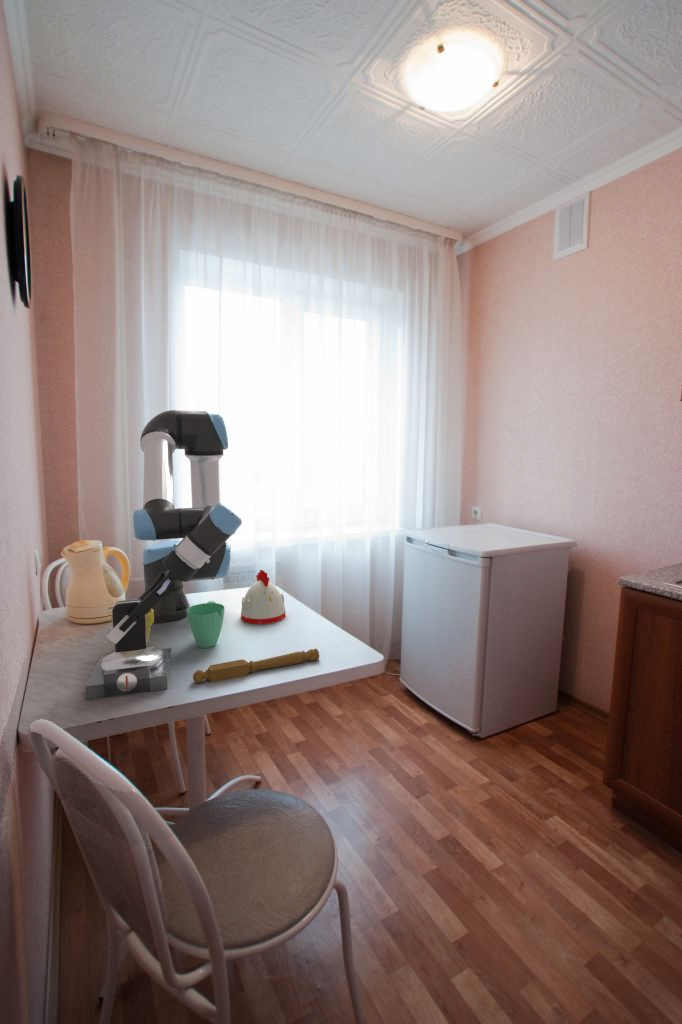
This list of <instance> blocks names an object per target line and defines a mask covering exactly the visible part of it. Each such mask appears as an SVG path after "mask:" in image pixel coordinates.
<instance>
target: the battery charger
mask: <svg viewBox="0 0 682 1024" xmlns="http://www.w3.org/2000/svg"><path fill="white" fill-rule="evenodd" d="M140 601H141V600H140V599H138V598H137V599H127V600H126V599H125V600H119V601H116V603H114V605H113V606H112V607H111V608H112V609H111V615H112V622H111V624H112V623H113V628H114V627H115V626H116V625H117V624H118V623H119V622H120V621H121V620H122V619H123V618H124V617H125V616H126V614H125V613H126V611H128V612H131V611H132V610H133V609H134V608H135V607H136V606H137V604H138V603H139V602H140ZM146 648H147V638H146V615H145V616H144V617H143V618H142V619H141V621H140V622H138V623H137V622H136V624H135V625H134V626H133V627H132V628H131V629H130V630H129V631H128V632H127V633H126V634H125V635H124V636H123V637H122V638H121V639H120V640H119V641H118V642H117V644H115V643H114V652H127V651H135V650H142V649H146Z"/></svg>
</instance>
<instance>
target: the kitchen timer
mask: <svg viewBox="0 0 682 1024" xmlns="http://www.w3.org/2000/svg"><path fill="white" fill-rule="evenodd" d="M255 578H256V581H255V582H254V583H253V584H252V585H251V586H250V587H249V588H248V590H247V592H246V594H245V595H244V596H242V597H241V598H242V599H241V611H240V619H241V621H242V622H245V623H246V622H247V624H252V625H266V624H267V623H268V624H273V623H272V622H274V623H277V622H280V621H282V620H284V619H285V618H286V607H285V597H284V594H283V593H281V592H280V591H279V589H278V588H277V587H276V585H274V584H273V583H272V582H271V581H270V577H268V572H266V571H265V570H264V569H260V570H259V572H257V575H256V576H255ZM284 617H285V618H284ZM283 618H284V619H283ZM281 619H282V620H281ZM279 620H280V621H279ZM276 621H277V622H276ZM268 624H267V625H268Z"/></svg>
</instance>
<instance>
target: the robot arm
mask: <svg viewBox="0 0 682 1024" xmlns="http://www.w3.org/2000/svg"><path fill="white" fill-rule="evenodd" d="M226 426H227V425H226V421H225V418H224V416H223V414H222V413H221V412H219V411H212V410H175V409H170V410H164V411H163V412H160V413H158V414H157V415H155V416H154V417H153V418H151V419H150V420H149V421H148V423H146V425H145V426H144V428H143V429H142V432H141V434H140V439H139V440H140V441H139V442H140V444H139V445H140V450H141V451H142V453H143V483H142V484H143V489H142V490H143V492H142V493H143V496H142V497H143V498H142V507H143V508H141V509H137V510H135V511H134V512H133V518H132V519H133V520H132V521H133V523H132V524H133V535H134V537H135V539H137V540H138V541H160V540H161V541H162V540H170V541H164V542H159V543H155V544H152V545H148V546H147V547H146V548H144V550H143V552H142V565H143V577H144V578H143V579H144V580H143V581H144V582H143V583H144V585H143V586H144V592H143V593H142V594H141V595H140V596H139V597H138V598H137V599H140V600H141V601H140V602H139V603H138V604H137V606H136V607H135V608H134V609H133V610H132V611H131V612H128V611H126V613H125V614H126V616H125V617H124V618H123V619H122V620H121V621H120V622H119V623H118V624H117V625H116V626H115V627H114V628H113V626H112V625H111V628H109V632H108V633H107V634H106V636H105V637H106V638H107V639H108V640H109V641H111V642H112V643H113V644H114V645H115V644H117V642H118V641H119V640H120V639H121V638H122V637H123V636H124V635H125V634H126V633H127V632H128V631H129V630H130V629H131V628H132V627H133V626H134V625H135V624H136V622H137V623H138V622H140V621H141V619H142V618H143V617H144V616H145V615H146V614H147V613H148V612H149V611H150V609H151V608H152V609H153V611H154V622H153V623H167V622H172V621H173V622H174V621H177V620H180V619H184V618H186V617H187V609H188V608H189V607H191V605H190V603H189V600H188V598H187V595H186V593H185V590H184V583H187V582H194V581H205V580H207V581H208V580H211V581H212V580H217V579H223V578H225V577H227V575H228V574H229V571H230V564H231V549H232V548H231V544H230V543H229V542H227V541H228V540H229V538H230V537H231V536H232V535H233V536H234V535H235V533H236V531H237V530H238V529H239V528H240V527H241V525H242V523H243V522H242V519H241V518H240V516H238V514H237V513H235V511H233V510H232V509H231V508H230V507H229V506H228V505H226V504H225V503H224V502H221V499H220V495H221V494H220V467H219V466H220V462H219V461H220V459H221V458H222V457H223V456H224V450H225V451H226V450H228V448H229V438H228V432H227V428H226ZM176 450H184V456H185V457H186V458H187V459H188V460H189V463H190V485H191V487H190V490H191V507H185V508H182V507H181V508H180V507H179V508H175V487H174V486H175V484H174V463H173V458H174V457H173V454H174V453H175V451H176ZM172 539H173V540H172ZM174 539H181V540H174Z"/></svg>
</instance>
